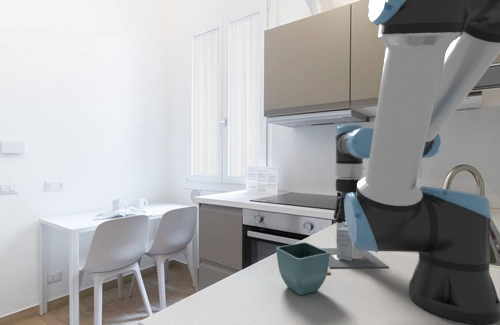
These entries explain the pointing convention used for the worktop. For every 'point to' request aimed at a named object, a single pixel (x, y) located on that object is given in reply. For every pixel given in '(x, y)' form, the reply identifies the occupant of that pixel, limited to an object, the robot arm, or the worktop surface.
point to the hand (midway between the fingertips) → (348, 250)
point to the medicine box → (344, 244)
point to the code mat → (354, 261)
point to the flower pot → (302, 266)
